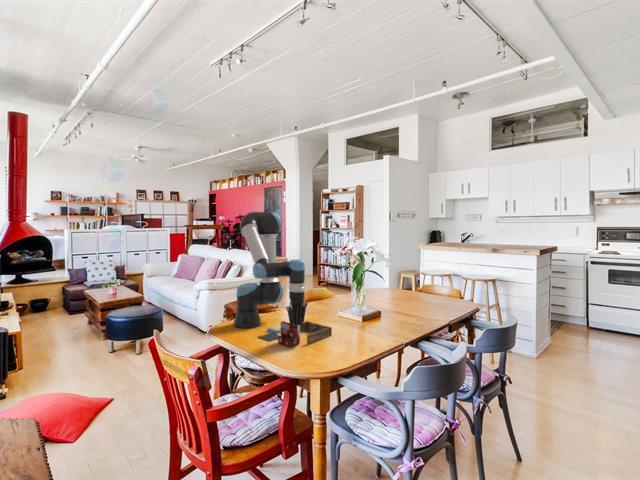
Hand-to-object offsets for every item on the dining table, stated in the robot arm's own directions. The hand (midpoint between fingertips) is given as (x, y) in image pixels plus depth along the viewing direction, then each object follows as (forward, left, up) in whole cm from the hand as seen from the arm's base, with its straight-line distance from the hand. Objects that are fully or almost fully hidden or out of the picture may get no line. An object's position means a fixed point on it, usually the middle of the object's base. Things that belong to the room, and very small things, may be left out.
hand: (297, 337), depth 179 cm
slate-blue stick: (-19, +1, -2) cm, 19 cm away
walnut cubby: (-1, +8, -2) cm, 8 cm away
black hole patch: (-14, -6, -2) cm, 15 cm away
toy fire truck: (0, -6, -2) cm, 6 cm away
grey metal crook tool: (-14, +9, -2) cm, 17 cm away
